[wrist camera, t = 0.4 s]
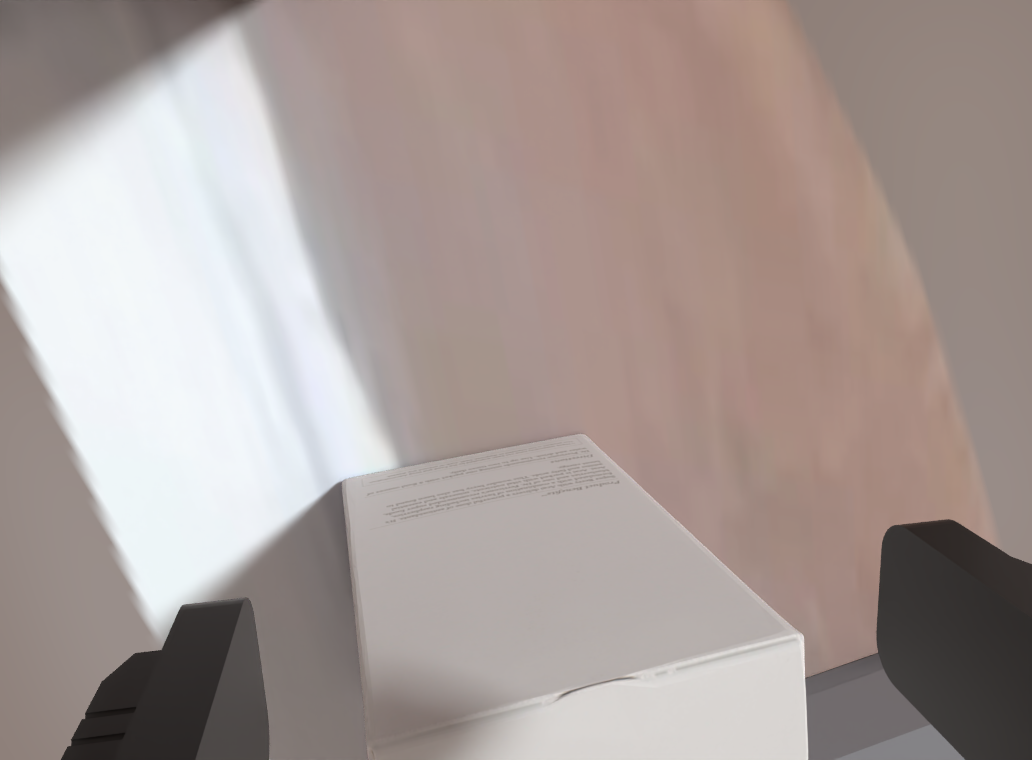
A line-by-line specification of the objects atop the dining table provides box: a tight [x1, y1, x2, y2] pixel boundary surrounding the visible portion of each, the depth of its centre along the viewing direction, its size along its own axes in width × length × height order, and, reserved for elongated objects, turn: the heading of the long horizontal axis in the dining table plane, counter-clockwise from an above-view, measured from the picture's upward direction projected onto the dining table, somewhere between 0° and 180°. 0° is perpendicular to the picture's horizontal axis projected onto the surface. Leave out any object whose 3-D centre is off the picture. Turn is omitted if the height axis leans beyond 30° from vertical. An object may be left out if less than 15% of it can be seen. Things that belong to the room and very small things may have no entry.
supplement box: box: [342, 434, 808, 760], centre depth 25 cm, size 9×9×15 cm
